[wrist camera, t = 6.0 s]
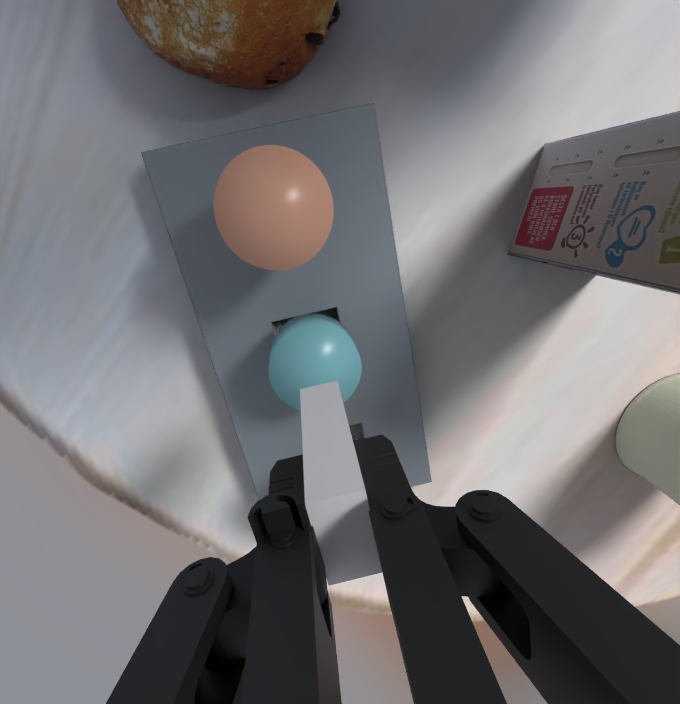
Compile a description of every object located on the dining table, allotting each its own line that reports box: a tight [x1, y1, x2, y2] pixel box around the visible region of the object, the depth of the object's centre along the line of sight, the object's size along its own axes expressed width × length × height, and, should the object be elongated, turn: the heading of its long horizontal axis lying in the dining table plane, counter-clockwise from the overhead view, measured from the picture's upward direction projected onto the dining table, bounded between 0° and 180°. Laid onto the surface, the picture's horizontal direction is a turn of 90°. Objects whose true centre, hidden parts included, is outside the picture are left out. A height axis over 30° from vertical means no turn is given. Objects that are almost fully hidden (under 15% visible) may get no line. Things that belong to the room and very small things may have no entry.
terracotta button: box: [214, 145, 334, 270], centre depth 19 cm, size 5×5×4 cm
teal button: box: [268, 314, 362, 411], centre depth 24 cm, size 5×5×4 cm
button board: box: [141, 103, 432, 500], centre depth 26 cm, size 24×12×2 cm, turn 12°
